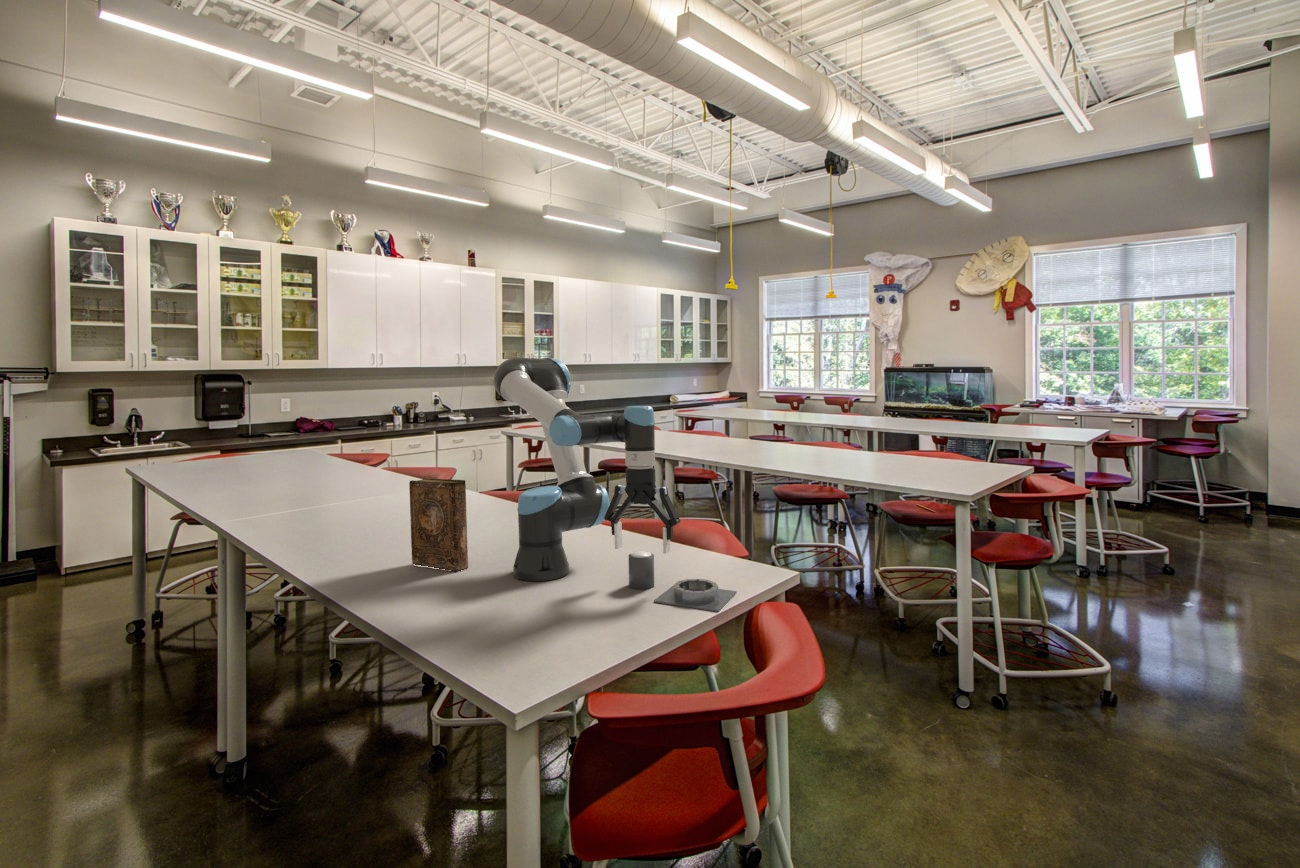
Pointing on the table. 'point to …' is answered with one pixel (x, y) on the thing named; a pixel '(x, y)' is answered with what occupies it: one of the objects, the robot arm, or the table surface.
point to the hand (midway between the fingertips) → (642, 550)
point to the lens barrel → (641, 570)
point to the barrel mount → (696, 595)
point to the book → (439, 523)
